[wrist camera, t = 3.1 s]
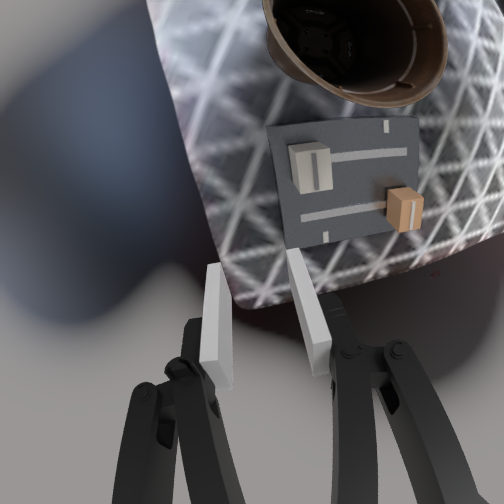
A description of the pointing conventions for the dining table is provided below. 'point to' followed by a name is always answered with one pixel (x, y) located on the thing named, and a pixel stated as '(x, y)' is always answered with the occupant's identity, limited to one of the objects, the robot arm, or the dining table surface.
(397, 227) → the fader
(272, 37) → the plant pot
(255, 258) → the dining table surface
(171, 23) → the dining table surface
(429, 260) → the dining table surface
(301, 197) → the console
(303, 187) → the fader
